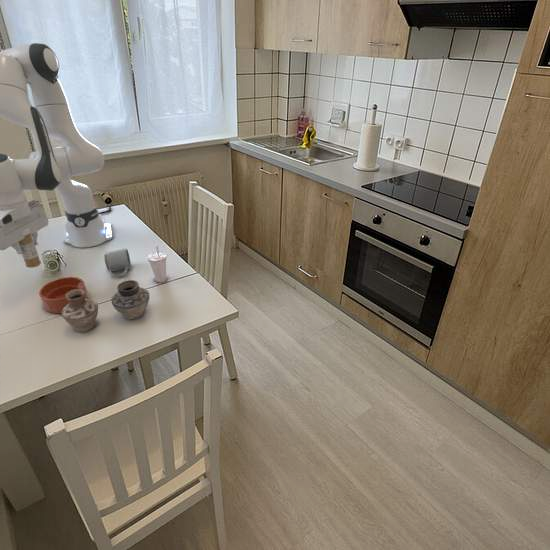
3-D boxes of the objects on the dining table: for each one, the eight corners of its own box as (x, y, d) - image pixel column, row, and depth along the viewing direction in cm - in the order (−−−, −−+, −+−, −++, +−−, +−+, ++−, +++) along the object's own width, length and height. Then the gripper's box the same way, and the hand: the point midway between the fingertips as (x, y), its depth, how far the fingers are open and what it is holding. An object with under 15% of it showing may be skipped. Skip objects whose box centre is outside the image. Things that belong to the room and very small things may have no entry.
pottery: (66, 320, 121) (55, 288, 115) (148, 299, 131) (142, 269, 125) (68, 342, 113) (56, 309, 107) (155, 318, 123) (149, 286, 116)
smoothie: (165, 285, 138) (159, 250, 131) (148, 283, 139) (141, 248, 132) (173, 275, 143) (167, 241, 136) (156, 273, 145) (150, 240, 137)
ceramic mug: (108, 265, 149) (103, 247, 145) (131, 262, 151) (127, 244, 147) (107, 280, 141) (102, 262, 136) (131, 276, 143) (127, 258, 139)
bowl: (50, 292, 134) (45, 279, 131) (91, 288, 136) (88, 275, 133) (39, 316, 123) (33, 302, 120) (84, 311, 125) (79, 297, 122)
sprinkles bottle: (35, 260, 133) (22, 224, 126) (44, 263, 131) (31, 226, 124) (22, 266, 130) (8, 229, 123) (31, 269, 128) (17, 232, 121)
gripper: (29, 197, 129) (42, 234, 137) (-24, 221, 113) (-6, 263, 120) (46, 198, 128) (58, 236, 136) (-6, 223, 111) (11, 265, 119)
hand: (28, 249), depth 128 cm, fingers closed on sprinkles bottle, 4 cm apart
